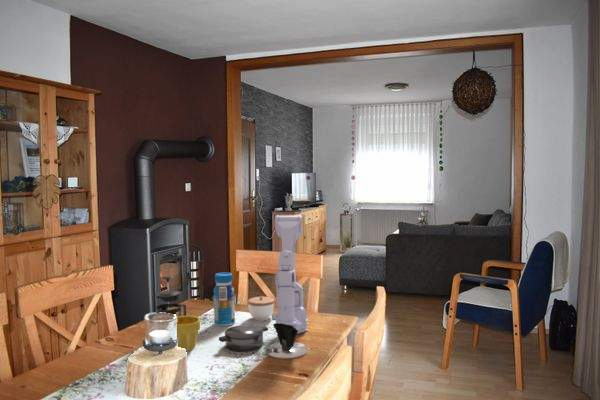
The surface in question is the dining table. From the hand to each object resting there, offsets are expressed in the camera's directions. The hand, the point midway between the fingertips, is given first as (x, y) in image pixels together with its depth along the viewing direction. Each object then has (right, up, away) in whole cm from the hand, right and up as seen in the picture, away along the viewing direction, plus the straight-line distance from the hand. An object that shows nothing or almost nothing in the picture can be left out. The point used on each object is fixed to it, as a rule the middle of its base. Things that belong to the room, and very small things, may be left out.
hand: (286, 345), depth 167 cm
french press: (-43, -2, +14) cm, 45 cm away
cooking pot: (-15, -2, +6) cm, 16 cm away
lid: (0, -2, 0) cm, 2 cm away
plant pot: (-35, -2, +4) cm, 35 cm away
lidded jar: (-11, 0, +37) cm, 39 cm away
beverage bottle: (-26, 0, +31) cm, 40 cm away
